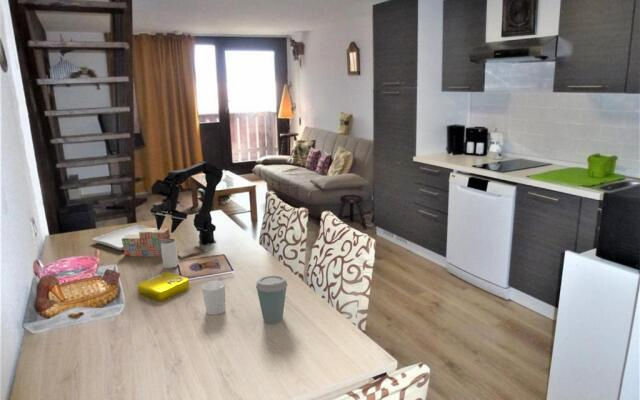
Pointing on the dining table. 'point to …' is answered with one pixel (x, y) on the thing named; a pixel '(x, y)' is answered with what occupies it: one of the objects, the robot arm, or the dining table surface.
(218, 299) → the white cup
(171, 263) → the can
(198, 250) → the tan flat board
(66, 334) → the dining table surface
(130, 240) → the stack of blocks
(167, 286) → the element tile
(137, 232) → the square plate
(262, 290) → the disposable coffee cup
